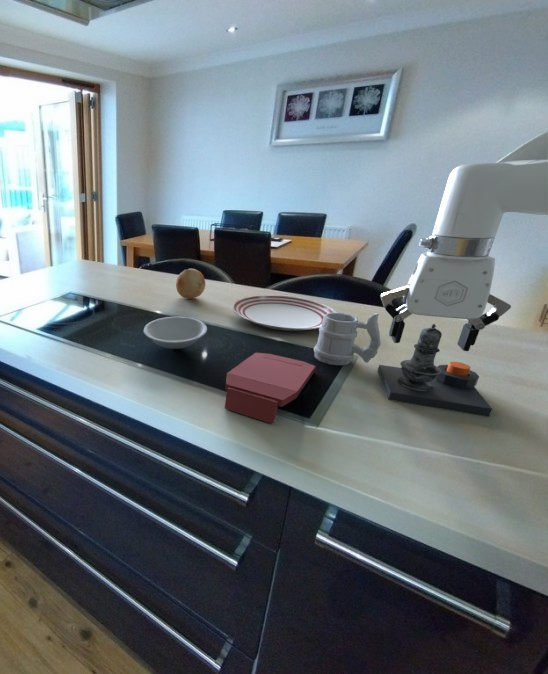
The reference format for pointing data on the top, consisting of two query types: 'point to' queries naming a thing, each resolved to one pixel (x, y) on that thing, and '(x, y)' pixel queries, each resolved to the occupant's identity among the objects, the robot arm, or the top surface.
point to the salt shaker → (422, 362)
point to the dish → (175, 331)
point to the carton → (265, 385)
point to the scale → (437, 391)
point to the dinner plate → (282, 312)
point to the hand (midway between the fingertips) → (427, 344)
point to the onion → (190, 283)
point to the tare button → (458, 369)
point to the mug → (345, 339)
